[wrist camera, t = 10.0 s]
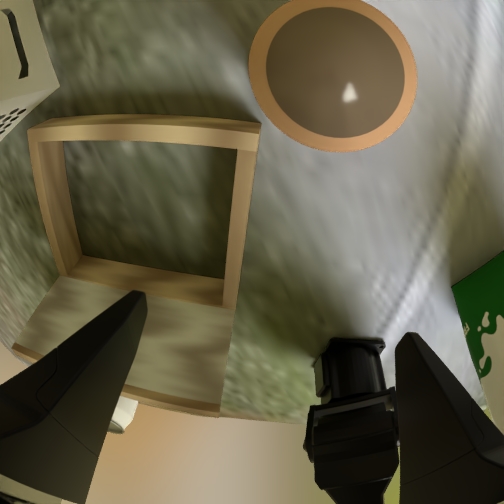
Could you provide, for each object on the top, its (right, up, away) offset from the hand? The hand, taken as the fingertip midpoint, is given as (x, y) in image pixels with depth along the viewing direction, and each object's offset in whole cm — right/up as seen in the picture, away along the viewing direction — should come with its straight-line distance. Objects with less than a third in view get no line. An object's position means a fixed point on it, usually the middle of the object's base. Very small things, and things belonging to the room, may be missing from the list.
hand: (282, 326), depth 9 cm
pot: (+3, +13, +5) cm, 14 cm away
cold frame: (-9, +6, +12) cm, 16 cm away
